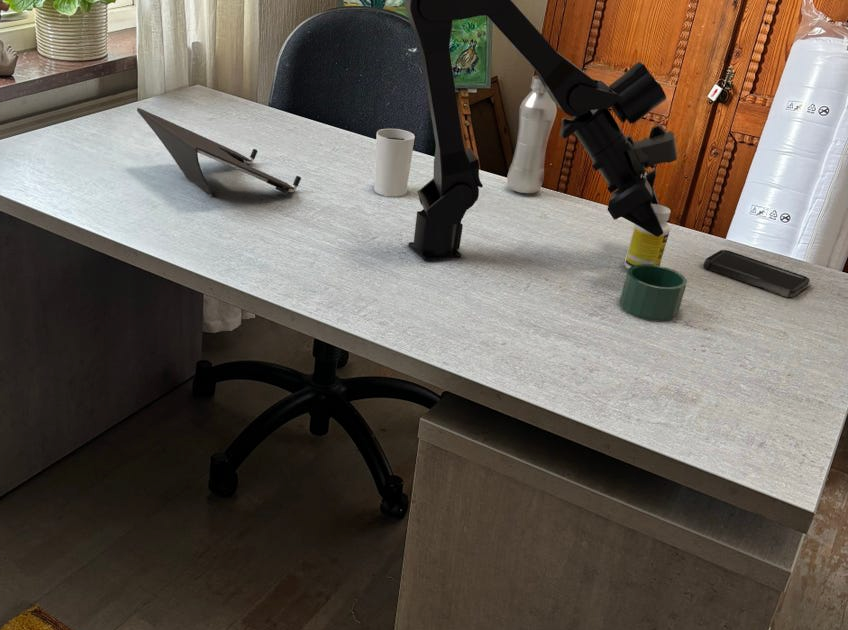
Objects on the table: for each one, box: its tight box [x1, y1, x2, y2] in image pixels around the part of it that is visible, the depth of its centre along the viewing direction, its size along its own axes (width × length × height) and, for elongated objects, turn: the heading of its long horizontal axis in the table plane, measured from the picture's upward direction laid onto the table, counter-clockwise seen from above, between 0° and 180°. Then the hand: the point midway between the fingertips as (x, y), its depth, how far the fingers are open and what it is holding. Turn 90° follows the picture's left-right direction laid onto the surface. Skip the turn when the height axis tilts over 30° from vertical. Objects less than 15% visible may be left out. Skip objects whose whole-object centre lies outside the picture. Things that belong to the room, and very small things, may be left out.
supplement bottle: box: [624, 204, 672, 269], centre depth 151 cm, size 5×5×10 cm
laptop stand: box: [136, 107, 302, 197], centre depth 168 cm, size 23×23×9 cm
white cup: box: [373, 128, 416, 198], centre depth 172 cm, size 7×7×10 cm
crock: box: [619, 264, 688, 322], centre depth 141 cm, size 8×8×5 cm
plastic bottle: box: [506, 75, 558, 194], centre depth 174 cm, size 6×7×20 cm
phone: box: [703, 249, 811, 298], centre depth 155 cm, size 8×1×15 cm
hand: (661, 228), depth 150 cm, fingers closed on supplement bottle, 5 cm apart
